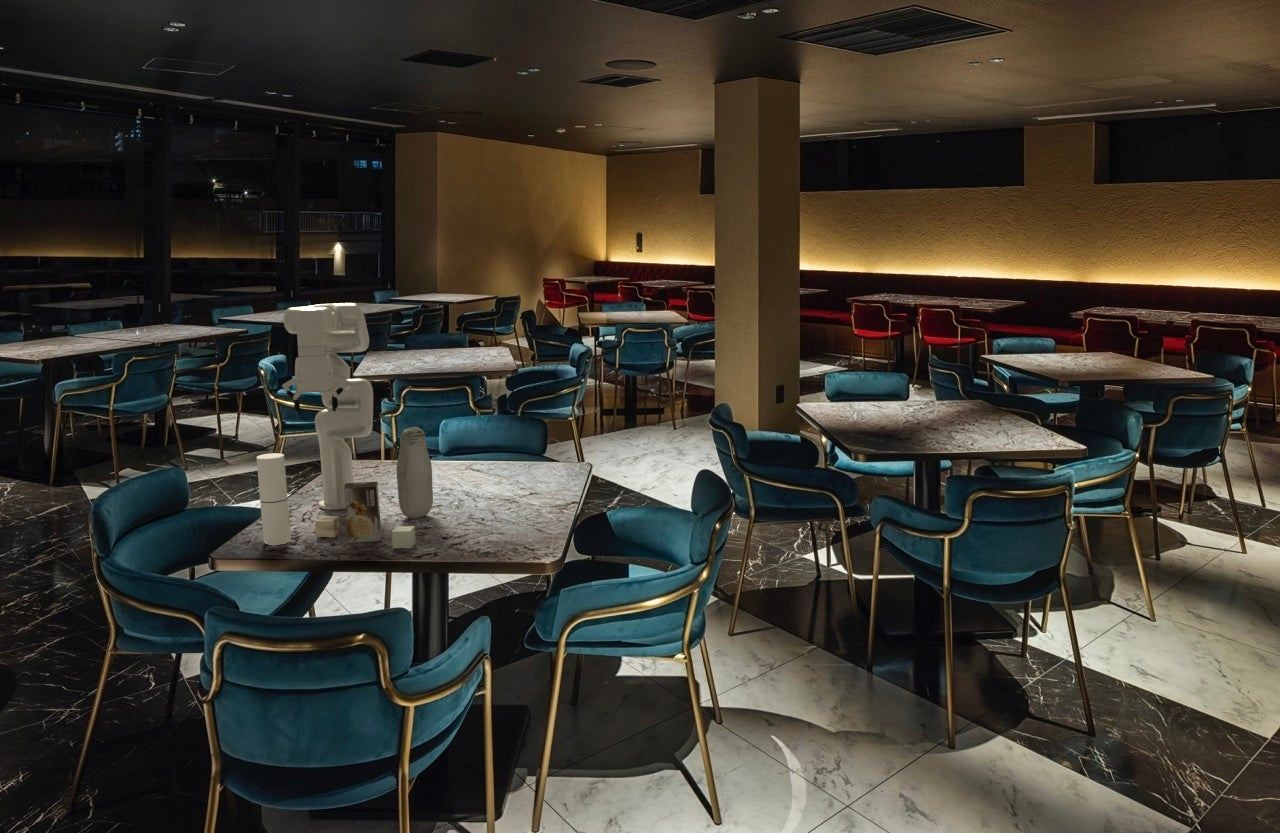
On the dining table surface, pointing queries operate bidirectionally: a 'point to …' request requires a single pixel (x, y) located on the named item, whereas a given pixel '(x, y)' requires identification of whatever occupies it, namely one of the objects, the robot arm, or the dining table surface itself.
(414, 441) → the grey bottle
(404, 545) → the sage block
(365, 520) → the coffee box
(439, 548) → the dining table surface
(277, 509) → the cylindrical container
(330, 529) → the birch block
